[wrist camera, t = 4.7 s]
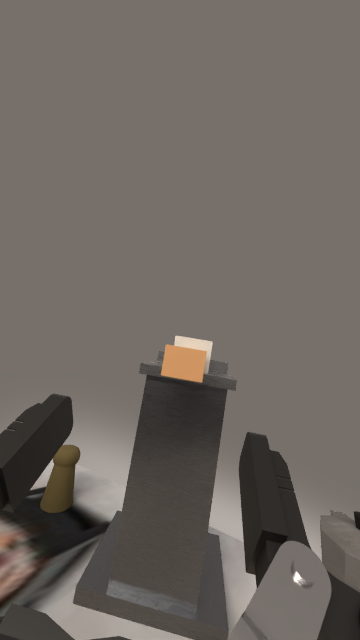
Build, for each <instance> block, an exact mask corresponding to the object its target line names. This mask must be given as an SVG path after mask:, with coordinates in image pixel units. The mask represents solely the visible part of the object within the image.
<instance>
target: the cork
mask: <svg viewBox="0 0 360 640" xmlns="http://www.w3.org/2000/svg"><path fill="white" fill-rule="evenodd" d="M79 458H80V450H79V448H78V447H76V446H74V445H63V446H61V447H60V449H59V450H58V452H57V453H56V454H55V456H54V457H53V462H54V467H53V470H52V473H51V475H50V478H49V481H48V484H47V487H46V489H45V492H44V495H43V498H42V501H41V503H40V507H41V509H42V510H43V511H45V512H49V513H58V512H62V511H65V510H67V509H68V508H69V507H70V506H71V505H72V501H73V489H74V477H75V464H76V463H77V462H78V460H79Z"/></svg>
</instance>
